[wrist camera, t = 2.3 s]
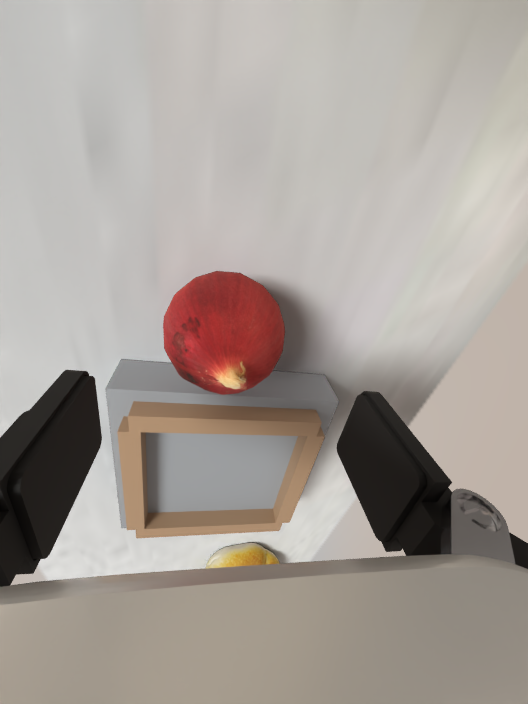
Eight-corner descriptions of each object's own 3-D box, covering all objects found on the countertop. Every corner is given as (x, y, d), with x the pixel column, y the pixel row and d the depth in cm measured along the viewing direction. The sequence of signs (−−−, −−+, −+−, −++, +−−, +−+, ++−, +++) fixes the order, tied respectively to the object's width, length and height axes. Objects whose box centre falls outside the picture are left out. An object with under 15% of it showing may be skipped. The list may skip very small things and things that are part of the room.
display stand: (121, 359, 18) (97, 403, 14) (324, 374, 21) (346, 414, 17) (131, 492, 25) (116, 544, 21) (283, 489, 28) (293, 534, 24)
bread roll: (244, 531, 31) (247, 573, 28) (287, 554, 36) (295, 594, 32) (188, 561, 33) (185, 605, 30) (236, 580, 37) (238, 620, 34)
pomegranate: (198, 357, 19) (187, 457, 12) (155, 275, 16) (108, 348, 9) (281, 329, 18) (318, 415, 12) (254, 241, 15) (284, 288, 9)
